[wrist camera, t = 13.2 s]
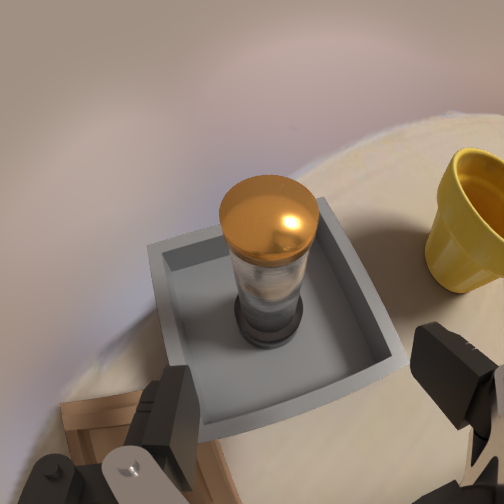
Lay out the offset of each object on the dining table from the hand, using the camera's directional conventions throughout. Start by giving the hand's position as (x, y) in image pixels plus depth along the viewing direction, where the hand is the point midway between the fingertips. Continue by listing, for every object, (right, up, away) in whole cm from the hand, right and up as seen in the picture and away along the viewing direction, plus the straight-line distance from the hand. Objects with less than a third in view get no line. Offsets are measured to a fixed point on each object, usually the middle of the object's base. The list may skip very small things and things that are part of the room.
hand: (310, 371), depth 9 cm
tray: (-1, -1, +12) cm, 12 cm away
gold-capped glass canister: (-1, -1, +12) cm, 12 cm away
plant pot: (+17, +3, +14) cm, 22 cm away
